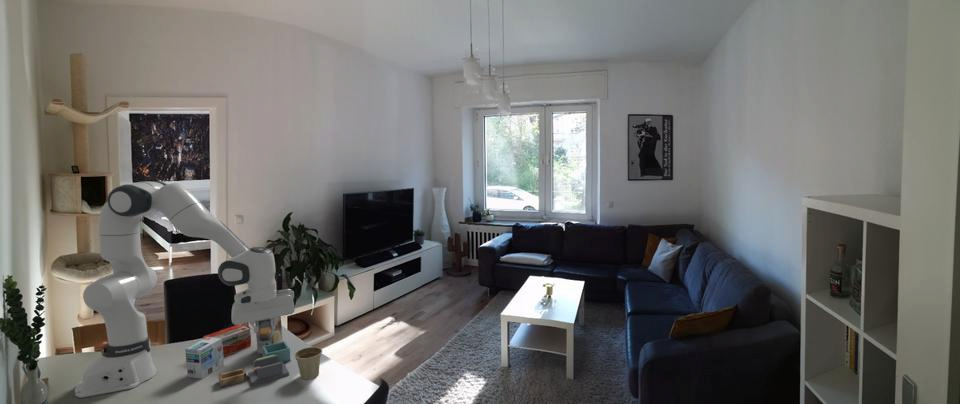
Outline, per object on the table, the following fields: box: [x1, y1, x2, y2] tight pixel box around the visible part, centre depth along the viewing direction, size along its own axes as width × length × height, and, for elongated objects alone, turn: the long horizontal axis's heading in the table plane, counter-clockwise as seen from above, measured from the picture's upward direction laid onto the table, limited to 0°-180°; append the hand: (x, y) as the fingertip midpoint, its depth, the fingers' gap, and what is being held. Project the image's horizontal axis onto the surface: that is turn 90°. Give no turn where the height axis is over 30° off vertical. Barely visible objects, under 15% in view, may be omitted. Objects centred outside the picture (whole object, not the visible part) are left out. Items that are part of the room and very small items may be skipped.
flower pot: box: [293, 346, 323, 380], centre depth 162 cm, size 9×9×9 cm
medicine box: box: [202, 324, 252, 358], centre depth 183 cm, size 15×8×8 cm, turn 147°
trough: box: [218, 367, 248, 388], centre depth 159 cm, size 8×5×2 cm, turn 125°
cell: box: [258, 318, 271, 341], centre depth 161 cm, size 4×4×8 cm
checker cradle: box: [247, 355, 290, 386], centre depth 163 cm, size 12×9×5 cm
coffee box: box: [254, 316, 284, 354], centre depth 184 cm, size 9×6×16 cm
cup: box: [262, 340, 291, 364], centre depth 175 cm, size 8×8×5 cm
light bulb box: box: [184, 337, 225, 379], centre depth 166 cm, size 11×7×11 cm, turn 169°
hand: (264, 330), depth 161 cm, fingers closed on cell, 4 cm apart
